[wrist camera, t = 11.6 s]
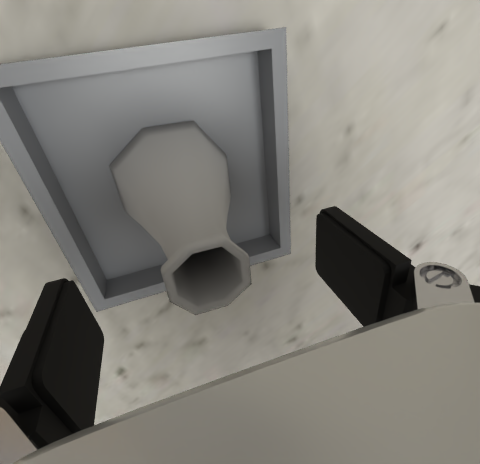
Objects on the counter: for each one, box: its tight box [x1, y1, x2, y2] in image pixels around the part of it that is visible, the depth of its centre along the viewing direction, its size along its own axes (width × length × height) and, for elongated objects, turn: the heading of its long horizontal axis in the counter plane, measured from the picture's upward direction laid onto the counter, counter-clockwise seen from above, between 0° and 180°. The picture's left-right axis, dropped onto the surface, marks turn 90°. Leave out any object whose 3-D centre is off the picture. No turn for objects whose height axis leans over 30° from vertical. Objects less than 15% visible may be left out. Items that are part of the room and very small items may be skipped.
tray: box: [0, 27, 291, 312], centre depth 18 cm, size 14×14×3 cm
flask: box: [109, 121, 251, 315], centre depth 14 cm, size 7×7×10 cm
